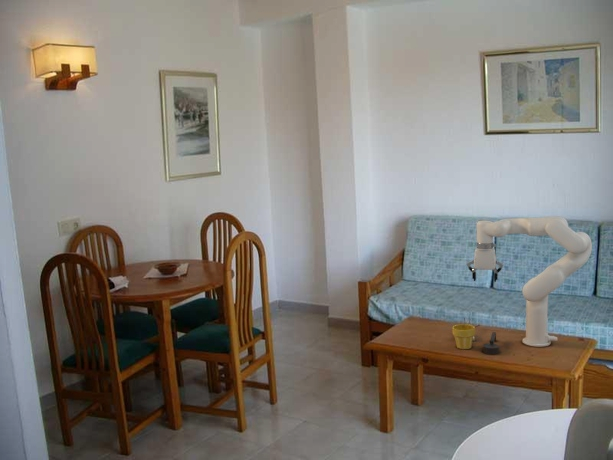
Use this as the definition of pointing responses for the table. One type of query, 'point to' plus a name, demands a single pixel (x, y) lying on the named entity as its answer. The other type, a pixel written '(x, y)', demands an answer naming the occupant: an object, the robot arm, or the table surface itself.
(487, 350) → the ladle
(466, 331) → the flower pot
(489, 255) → the robot arm
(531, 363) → the table surface
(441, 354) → the table surface
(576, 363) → the table surface
